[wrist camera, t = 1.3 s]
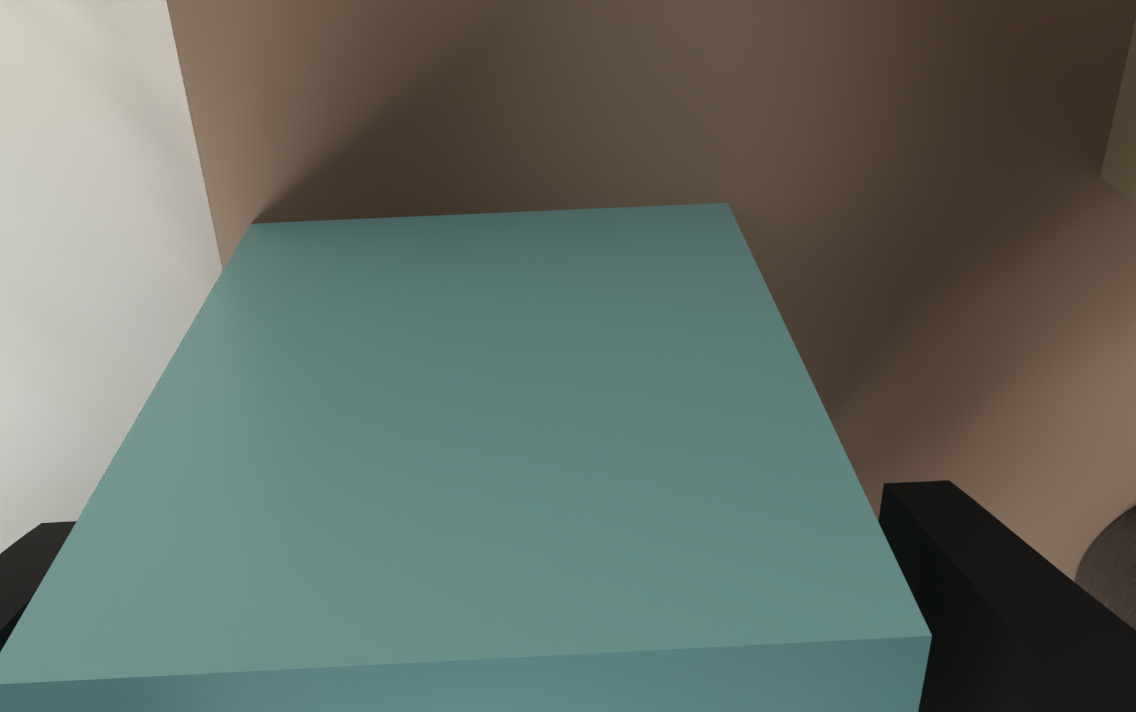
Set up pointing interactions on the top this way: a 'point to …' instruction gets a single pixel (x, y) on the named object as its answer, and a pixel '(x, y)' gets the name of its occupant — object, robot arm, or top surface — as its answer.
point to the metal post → (1112, 567)
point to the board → (757, 189)
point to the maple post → (1124, 133)
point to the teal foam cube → (479, 490)
